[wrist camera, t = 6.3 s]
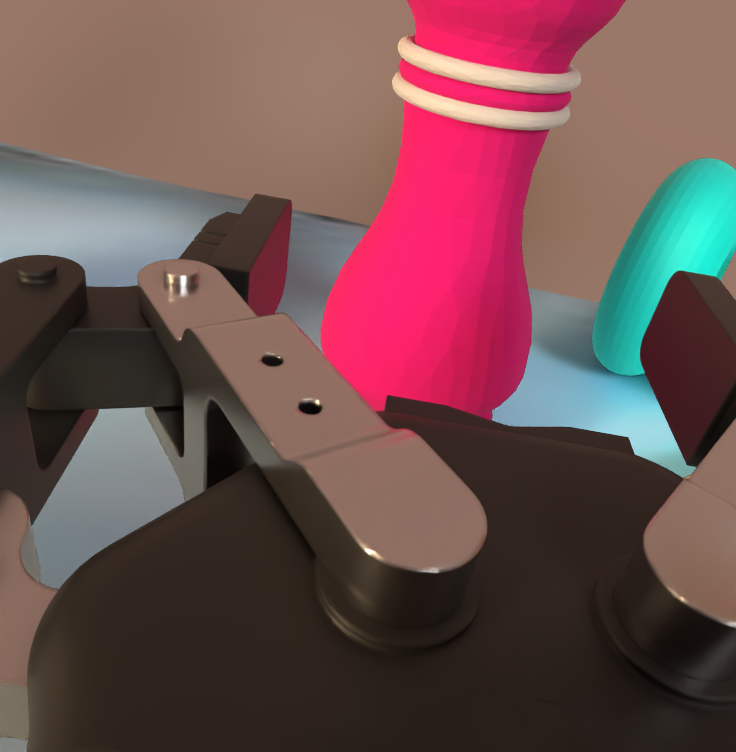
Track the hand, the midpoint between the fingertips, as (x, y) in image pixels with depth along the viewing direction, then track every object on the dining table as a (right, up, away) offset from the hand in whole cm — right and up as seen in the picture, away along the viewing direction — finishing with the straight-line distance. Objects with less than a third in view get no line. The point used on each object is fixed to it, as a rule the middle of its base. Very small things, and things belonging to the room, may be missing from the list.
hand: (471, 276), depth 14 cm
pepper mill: (-1, -4, +12) cm, 13 cm away
